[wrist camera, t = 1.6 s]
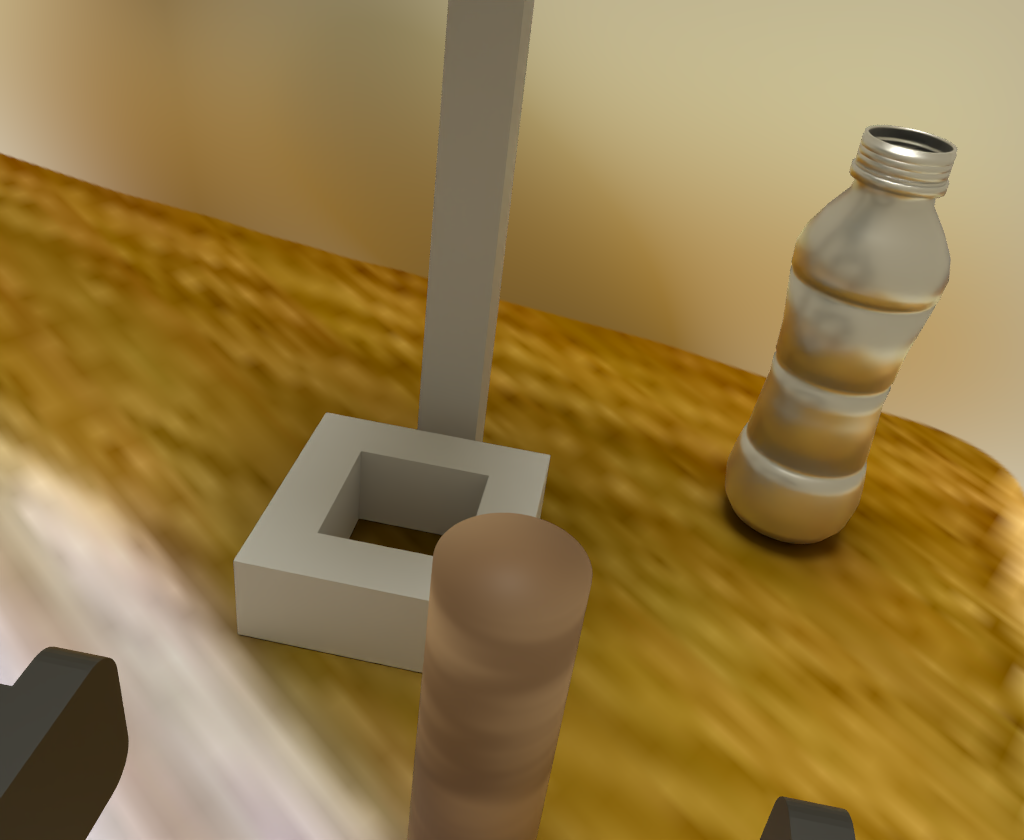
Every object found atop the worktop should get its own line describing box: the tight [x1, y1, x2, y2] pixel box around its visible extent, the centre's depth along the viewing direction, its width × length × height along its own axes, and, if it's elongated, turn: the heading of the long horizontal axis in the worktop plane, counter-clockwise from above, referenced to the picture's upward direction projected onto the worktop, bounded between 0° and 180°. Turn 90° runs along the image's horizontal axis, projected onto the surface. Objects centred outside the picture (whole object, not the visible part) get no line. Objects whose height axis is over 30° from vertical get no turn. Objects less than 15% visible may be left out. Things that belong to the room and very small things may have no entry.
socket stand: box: [233, 0, 551, 673], centre depth 38 cm, size 18×14×32 cm
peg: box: [407, 513, 592, 840], centre depth 28 cm, size 4×4×14 cm
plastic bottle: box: [725, 125, 957, 544], centre depth 45 cm, size 6×7×20 cm
